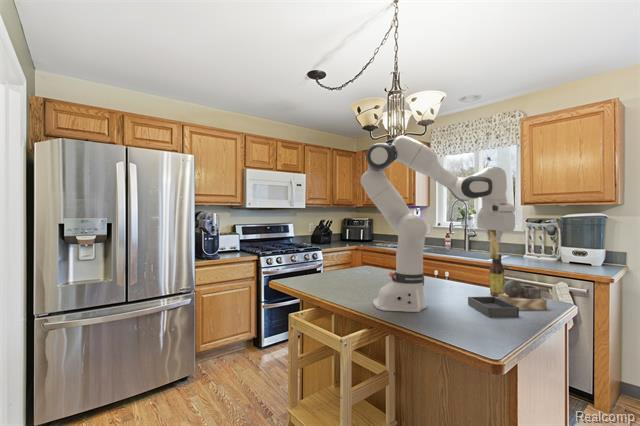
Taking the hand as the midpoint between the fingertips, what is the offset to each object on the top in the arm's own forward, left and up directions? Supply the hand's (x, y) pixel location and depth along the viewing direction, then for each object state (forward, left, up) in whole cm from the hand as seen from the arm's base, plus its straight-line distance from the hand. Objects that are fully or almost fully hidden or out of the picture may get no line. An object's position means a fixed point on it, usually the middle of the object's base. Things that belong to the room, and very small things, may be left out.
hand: (494, 241), depth 126 cm
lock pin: (0, 0, -7) cm, 7 cm away
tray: (-1, 0, -28) cm, 28 cm away
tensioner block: (+15, +5, -28) cm, 32 cm away
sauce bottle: (+15, +22, -28) cm, 39 cm away
